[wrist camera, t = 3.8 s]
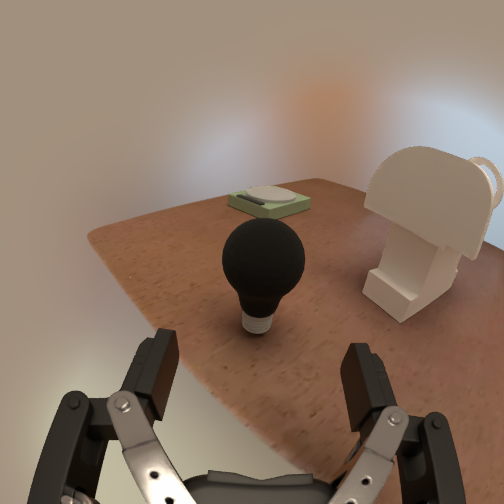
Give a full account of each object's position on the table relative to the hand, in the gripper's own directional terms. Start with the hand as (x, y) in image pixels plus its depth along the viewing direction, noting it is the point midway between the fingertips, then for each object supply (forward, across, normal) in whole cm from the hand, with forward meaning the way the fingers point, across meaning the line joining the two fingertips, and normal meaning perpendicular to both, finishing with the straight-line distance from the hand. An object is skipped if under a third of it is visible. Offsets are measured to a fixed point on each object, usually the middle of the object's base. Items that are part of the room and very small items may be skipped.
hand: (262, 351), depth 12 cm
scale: (+41, -2, +7) cm, 42 cm away
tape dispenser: (+16, -20, +8) cm, 26 cm away
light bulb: (+9, 0, +8) cm, 12 cm away
